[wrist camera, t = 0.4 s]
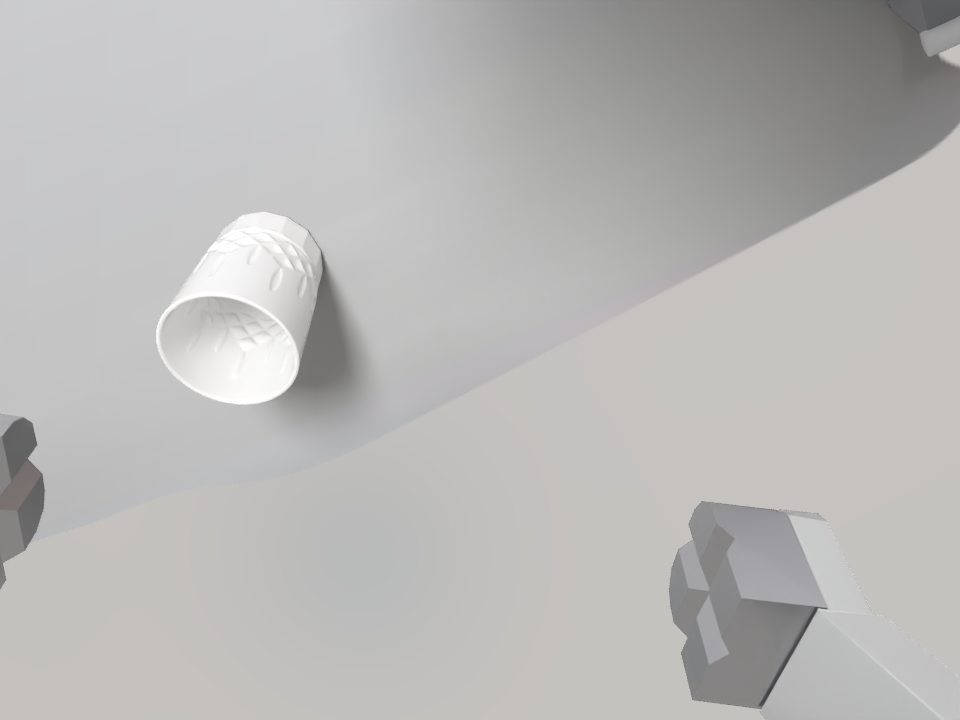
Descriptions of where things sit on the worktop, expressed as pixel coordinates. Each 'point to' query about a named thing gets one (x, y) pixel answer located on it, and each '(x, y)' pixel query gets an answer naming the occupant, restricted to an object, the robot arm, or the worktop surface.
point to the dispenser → (931, 22)
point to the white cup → (244, 312)
